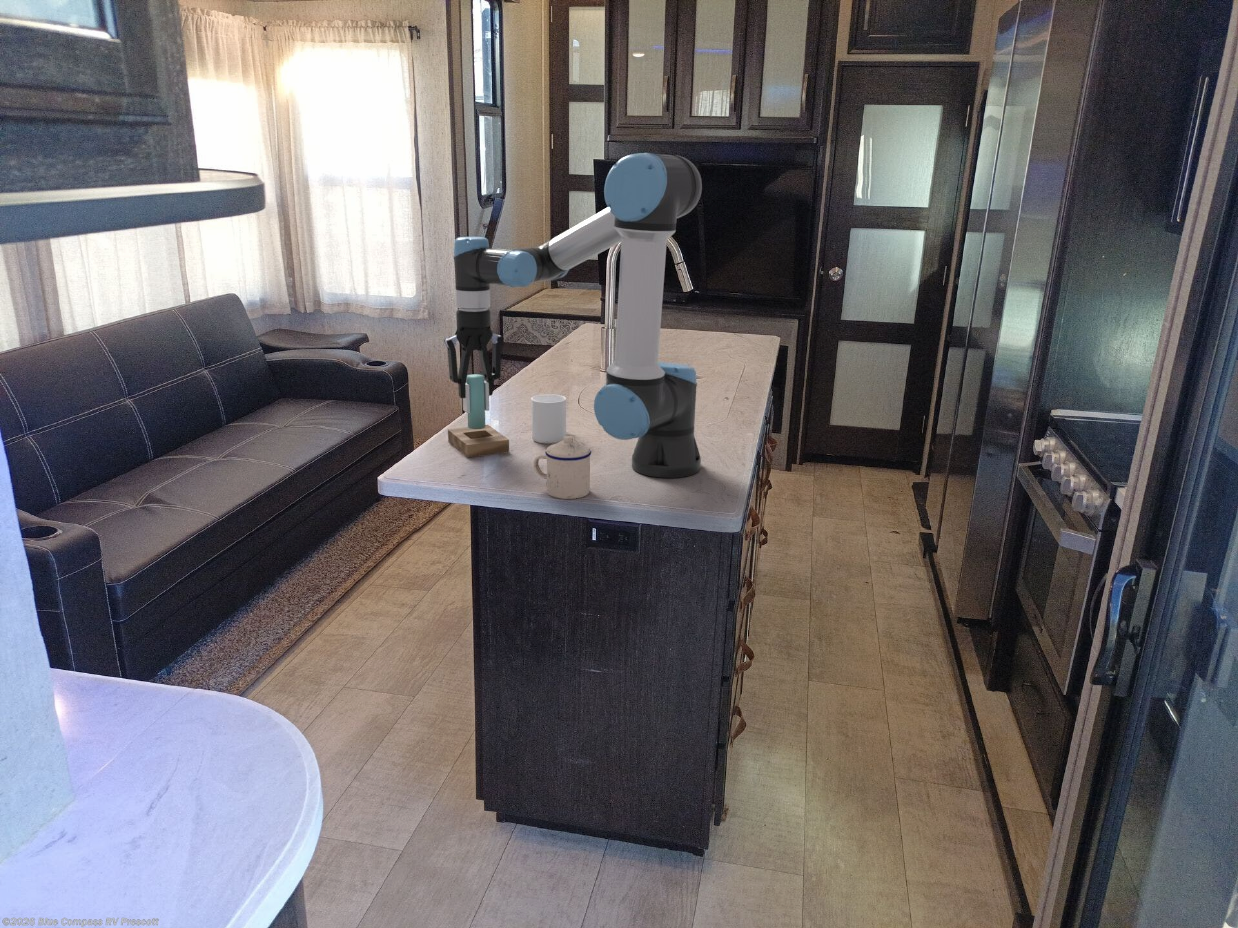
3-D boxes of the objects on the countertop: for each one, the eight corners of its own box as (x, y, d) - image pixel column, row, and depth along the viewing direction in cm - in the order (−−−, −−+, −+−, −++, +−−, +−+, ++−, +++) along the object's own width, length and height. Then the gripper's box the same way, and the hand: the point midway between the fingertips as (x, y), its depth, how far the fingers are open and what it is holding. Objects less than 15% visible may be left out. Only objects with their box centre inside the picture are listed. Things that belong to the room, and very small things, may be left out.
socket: (509, 452, 201) (508, 439, 200) (467, 457, 196) (466, 445, 195) (488, 436, 213) (487, 424, 212) (448, 441, 208) (447, 429, 207)
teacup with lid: (597, 488, 179) (598, 433, 175) (580, 502, 171) (580, 445, 167) (543, 480, 183) (543, 427, 179) (525, 494, 175) (524, 438, 171)
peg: (487, 428, 202) (486, 377, 199) (471, 430, 201) (469, 378, 197) (482, 423, 206) (480, 373, 202) (465, 425, 204) (463, 375, 200)
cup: (525, 441, 209) (524, 400, 206) (549, 428, 220) (548, 389, 217) (556, 445, 206) (556, 404, 203) (578, 433, 217) (578, 393, 214)
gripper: (503, 304, 201) (505, 402, 209) (430, 308, 194) (435, 410, 201) (515, 309, 195) (516, 410, 203) (441, 313, 187) (445, 418, 195)
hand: (476, 410), depth 202 cm, fingers closed on peg, 4 cm apart
